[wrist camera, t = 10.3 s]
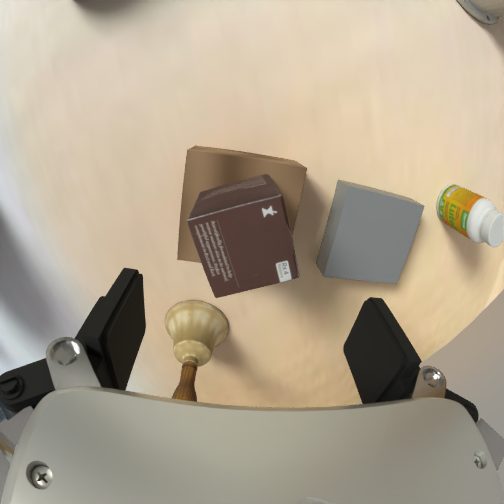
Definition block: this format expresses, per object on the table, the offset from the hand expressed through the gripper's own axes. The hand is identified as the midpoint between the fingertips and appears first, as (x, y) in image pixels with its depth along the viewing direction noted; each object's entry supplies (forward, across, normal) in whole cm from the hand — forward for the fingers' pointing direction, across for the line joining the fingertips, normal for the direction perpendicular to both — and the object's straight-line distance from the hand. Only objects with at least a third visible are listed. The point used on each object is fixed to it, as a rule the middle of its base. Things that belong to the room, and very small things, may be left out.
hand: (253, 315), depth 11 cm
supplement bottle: (+20, -26, -4) cm, 33 cm away
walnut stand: (+19, +1, +1) cm, 19 cm away
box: (+14, 0, +1) cm, 15 cm away
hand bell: (+19, +4, +18) cm, 26 cm away
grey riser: (+19, -14, +2) cm, 24 cm away
